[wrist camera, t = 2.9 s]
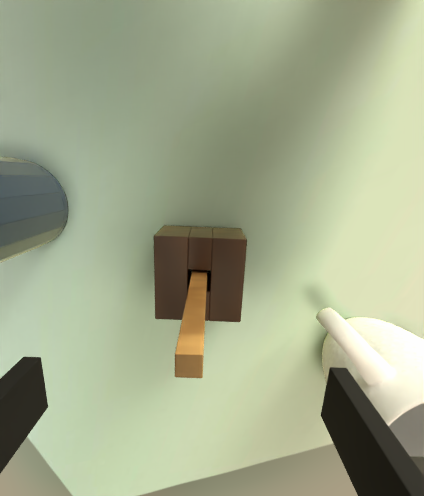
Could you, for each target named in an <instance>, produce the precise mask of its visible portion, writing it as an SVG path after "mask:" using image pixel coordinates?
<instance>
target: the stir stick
mask: <svg viewBox="0 0 424 496" xmlns="http://www.w3.org/2000/svg"><path fill="white" fill-rule="evenodd" d="M206 290H207V270H192V274H191V279H190V284H189V289H188V294H187V298H186V303H185V308H184V313H183V318H182V323H181V327H180V332H179V337H178V342H177V347H176V352H175V377H186V378H202V376H203V355H204V333H205V311H206Z"/></svg>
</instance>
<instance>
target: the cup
mask: <svg viewBox="0 0 424 496" xmlns="http://www.w3.org/2000/svg"><path fill="white" fill-rule="evenodd" d="M67 218H68V204H67V199H66V196H65V193H64V191H63V189H62V187H61V185H60V184H59V182H58V181H57V180H56V178H55V177H54V176H53V175H52V174H51V173H50V172H48V171H47V170H46V169H44V168H43V167H41V166H40V165H38V164H36V163H33V162H30V161H27V160H21V159H17V158H9V157H0V263H1V262H4V261H6V260H9V259H11V258H14V257H16V256H19V255H21V254H23V253H26V252H28V251H31V250H33V249H36V248H38V247H40V246H42V245H44V244H46V243H49V242H51V241H52V240H54V239H55V238H56V237H57V236H59V234H60V233H61V232H62V230H63V229H64V227H65V224H66V222H67Z"/></svg>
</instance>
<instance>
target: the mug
mask: <svg viewBox="0 0 424 496" xmlns="http://www.w3.org/2000/svg"><path fill="white" fill-rule="evenodd" d="M316 319H317V320H318V322H319V323H320V324H321V325H322V326H323V327H324V328H325V330H326V331H327V332H328V334H327V336H326V338H325V340H324V344H323V350H322V365H323V372H324V375H325V381H326V383H327V380H328V374H329V369H330V367H339V368H347V369H348V371H349V372H350V373H351V375H352V376H353V378H354V379H355V380H356V382H357V383H358V385H359V386H360V387H361V389H362V390H363V392H364V393H365V394H366V396H367V397H368V399H369V400H370V401H371V403H372V404H373V406H374V407H375V408H376V410H377V411H378V413H379V414H380V415H381V417H382V418H383V420H384V421H385V422H386V424H387V425H388V426H389V428H390V429H391V431H392V432H393V433H394V435H395V436H396V438H397V439H398V440H399V442H400V443H401V445H402V446H403V447H404V449H405V450H406V452H407V453H408V454H409V456H414V457H424V339H422V338H419V337H417V336H416V335H414V334H413V333H411V332H409V331H406V330H404V329H402V328H401V327H398V326H395V325H393V324H391V323H387V322H385V321H383V320H378V319H374V318H365V317H355V318H349V319H346V320H344V319H343V318H342V317H341V316H340V315H339V314H338V313H337V312H336V311H334V310H333V309H332V308H325V309H323V310H321V311H320V312H319V313H318V314H317V316H316Z"/></svg>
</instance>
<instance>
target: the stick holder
mask: <svg viewBox="0 0 424 496" xmlns="http://www.w3.org/2000/svg"><path fill="white" fill-rule="evenodd" d="M246 246H247V239H246V237H245V235H244V234H243V232H242V230H241V229H240V228H216V227H213V228H212V227H191V226H167V225H164V226H163V227H162V228H161V229H160V230H159V231H158V232H157V233H156V234H155V235H154V273H155V318H156V319H174V320H182V318H183V313H184V308H185V303H186V298H187V294H188V289H189V284H190V279H191V274H192V273H191V270H211V272H210V273H207V290H206V311H205V321H226V322H240V321H241V309H242V296H243V284H244V271H245V259H246Z"/></svg>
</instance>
